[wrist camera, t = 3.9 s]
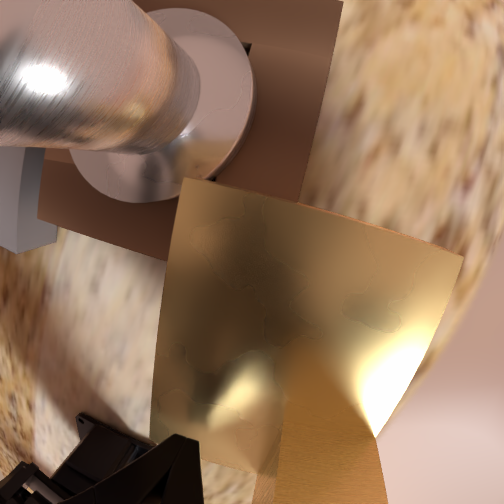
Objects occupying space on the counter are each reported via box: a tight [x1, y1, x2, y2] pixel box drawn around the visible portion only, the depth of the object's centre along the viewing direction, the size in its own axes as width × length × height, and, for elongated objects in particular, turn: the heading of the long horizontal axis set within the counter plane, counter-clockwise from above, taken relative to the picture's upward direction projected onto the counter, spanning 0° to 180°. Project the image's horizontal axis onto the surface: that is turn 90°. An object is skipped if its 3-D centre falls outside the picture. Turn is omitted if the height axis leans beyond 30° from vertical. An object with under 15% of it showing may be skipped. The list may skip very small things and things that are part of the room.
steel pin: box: [0, 0, 257, 203], centre depth 7 cm, size 6×6×10 cm
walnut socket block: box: [37, 0, 343, 262], centre depth 10 cm, size 10×10×3 cm
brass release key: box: [149, 177, 464, 504], centre depth 6 cm, size 9×7×6 cm
